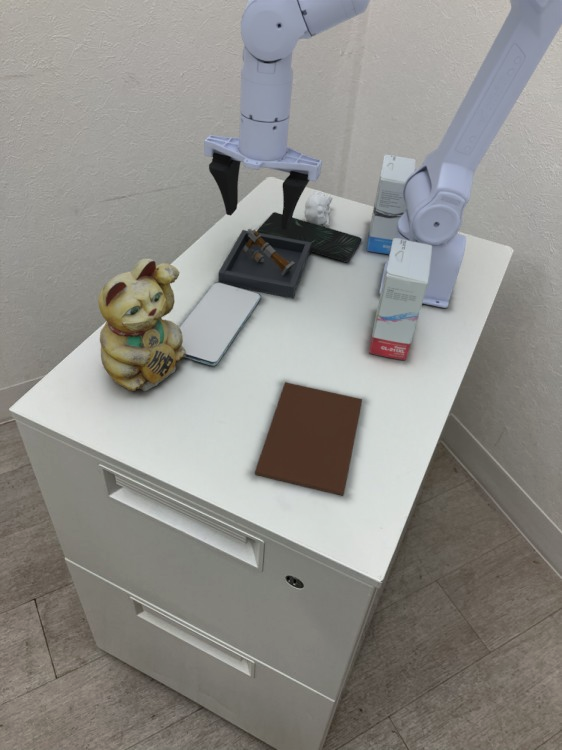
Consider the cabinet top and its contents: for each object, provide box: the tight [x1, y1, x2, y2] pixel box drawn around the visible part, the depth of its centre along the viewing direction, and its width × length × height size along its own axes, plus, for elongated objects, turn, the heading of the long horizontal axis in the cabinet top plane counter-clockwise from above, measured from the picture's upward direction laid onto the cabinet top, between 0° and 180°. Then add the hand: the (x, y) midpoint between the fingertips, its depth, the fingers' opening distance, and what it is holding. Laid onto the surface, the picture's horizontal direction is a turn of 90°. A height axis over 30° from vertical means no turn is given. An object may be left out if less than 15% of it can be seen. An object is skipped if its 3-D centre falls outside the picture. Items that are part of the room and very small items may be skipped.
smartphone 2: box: [256, 211, 362, 263], centre depth 88 cm, size 7×1×15 cm
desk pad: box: [254, 382, 363, 496], centre depth 61 cm, size 9×13×1 cm
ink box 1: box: [366, 154, 417, 255], centre depth 86 cm, size 8×5×12 cm, turn 168°
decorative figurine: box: [97, 258, 186, 392], centre depth 62 cm, size 10×8×15 cm
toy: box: [303, 190, 333, 227], centre depth 92 cm, size 6×8×4 cm
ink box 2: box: [368, 238, 432, 361], centre depth 70 cm, size 9×5×12 cm, turn 166°
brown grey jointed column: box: [243, 228, 294, 276], centre depth 82 cm, size 2×8×4 cm, turn 56°
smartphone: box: [179, 281, 262, 367], centre depth 73 cm, size 7×1×15 cm
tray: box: [218, 229, 311, 299], centre depth 82 cm, size 11×12×2 cm
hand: (258, 218), depth 76 cm, fingers open, 7 cm apart
